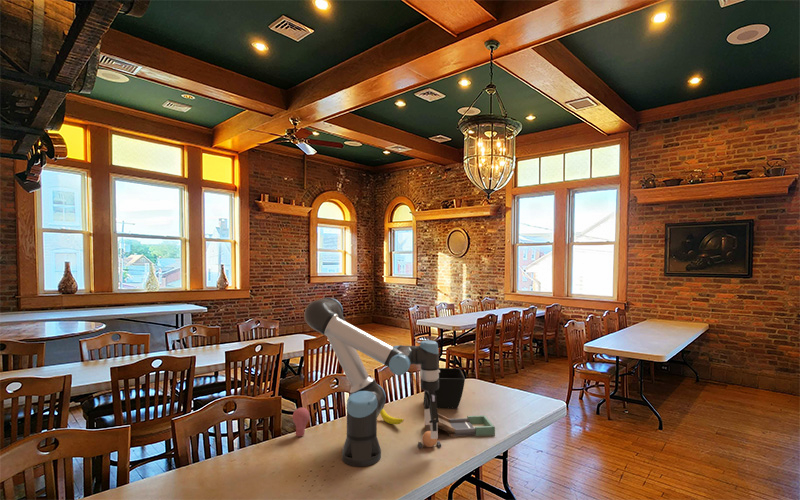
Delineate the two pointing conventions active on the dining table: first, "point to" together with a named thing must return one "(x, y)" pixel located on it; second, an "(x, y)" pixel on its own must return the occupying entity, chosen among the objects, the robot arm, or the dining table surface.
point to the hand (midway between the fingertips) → (430, 431)
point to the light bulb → (300, 420)
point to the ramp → (444, 425)
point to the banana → (390, 418)
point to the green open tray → (482, 425)
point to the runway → (462, 427)
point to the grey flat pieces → (437, 444)
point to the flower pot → (450, 388)
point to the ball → (428, 439)
